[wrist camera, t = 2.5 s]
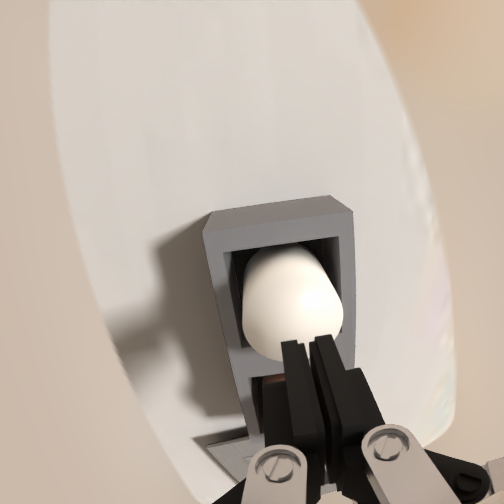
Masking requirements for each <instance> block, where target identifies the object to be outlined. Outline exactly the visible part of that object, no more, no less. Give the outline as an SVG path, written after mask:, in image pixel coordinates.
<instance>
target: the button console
mask: <svg viewBox="0 0 504 504" xmlns="http://www.w3.org/2000/svg"><path fill="white" fill-rule="evenodd" d="M202 235H203V240H204V245H205V250H206V255H207V260H208V265H209V270H210V274H211V279H212V284H213V289H214V293H215V298H216V302H217V307H218V311H219V316H220V320H221V325H222V329H223V333H224V338H225V342H226V346H227V350H228V355H229V359H230V363H231V367H232V371H233V375H234V379H235V383H236V387H237V391H238V395H239V399H240V403H241V407H242V411H243V415H244V419H245V422H246V426H247V430H248V434H249V437H250V441H251V444H253V443H263V442H265V441H264V418H263V398H262V391H260V392H258V388H257V383H256V378H255V377H258V376H266V375H274V374H281V373H284V366H283V362H282V361H276V360H272V359H269V358H267V357H265V356H263V355H261V354H260V353H258V352H257V351H256V350H255V349H253V348H252V346H251V345H250V344H249V342H248V341H247V339H246V337H245V335H244V331H243V325H242V315H243V308H242V304H241V298H240V293H239V287H238V282H237V276H236V271H235V265H234V260H233V254H232V251H237V250H244V249H251V248H258V247H265V246H272V245H279V244H286V243H293V242H300V241H307V240H314V239H321V240H322V252H323V266H324V271H325V273H326V275H327V277H328V278H329V280H330V282H331V284H332V286H333V287H334V289H335V291H336V293H337V295H338V297H339V299H340V301H341V303H342V307H343V322H342V326H341V329H340V331H339V333H338V335H337V337H336V338H335V340H334V342H335V344H336V347H337V349H338V352H339V354H340V357H341V360H342V362H343V365H344V367H345V370H349V369H354V362H355V330H356V275H355V243H354V223H353V211H352V210H350V209H349V208H347V207H346V206H345V205H343V204H342V203H340V202H339V201H338V200H336V199H335V198H333V197H332V196H330V195H329V196H320V197H312V198H304V199H297V200H289V201H282V202H274V203H267V204H260V205H253V206H246V207H240V208H233V209H226V210H220V211H214V212H212V213H211V215H210V217H209V219H208V221H207V223H206V225H205V227H204V229H203V231H202ZM308 360H309V364H310V358H308Z"/></svg>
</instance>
